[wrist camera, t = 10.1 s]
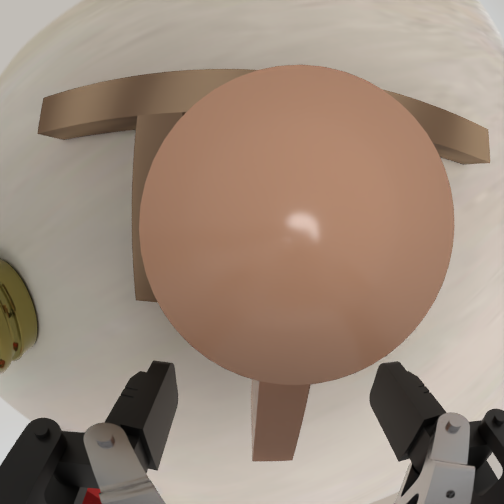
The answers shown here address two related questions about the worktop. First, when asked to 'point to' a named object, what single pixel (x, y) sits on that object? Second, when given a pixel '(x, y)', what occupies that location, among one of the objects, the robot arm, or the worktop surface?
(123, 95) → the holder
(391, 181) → the tan paddle shape
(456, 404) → the worktop surface
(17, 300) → the brass doorknob
